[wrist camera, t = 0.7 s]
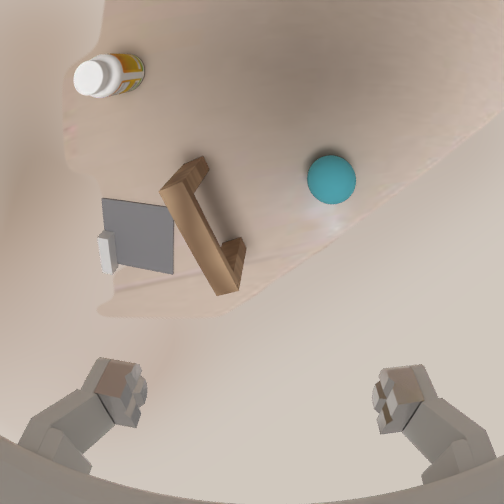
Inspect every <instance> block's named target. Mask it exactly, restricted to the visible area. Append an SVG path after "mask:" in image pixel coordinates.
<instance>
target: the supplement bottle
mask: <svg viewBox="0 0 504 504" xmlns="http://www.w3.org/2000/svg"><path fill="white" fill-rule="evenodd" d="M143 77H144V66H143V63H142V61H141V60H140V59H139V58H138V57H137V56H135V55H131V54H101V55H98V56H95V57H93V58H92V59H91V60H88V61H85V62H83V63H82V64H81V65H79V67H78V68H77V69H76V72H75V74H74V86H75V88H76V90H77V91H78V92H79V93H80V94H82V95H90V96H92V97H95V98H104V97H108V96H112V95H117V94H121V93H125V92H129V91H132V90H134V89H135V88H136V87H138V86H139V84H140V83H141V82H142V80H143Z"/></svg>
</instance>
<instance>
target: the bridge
mask: <svg viewBox="0 0 504 504" xmlns="http://www.w3.org/2000/svg"><path fill="white" fill-rule="evenodd" d="M208 171H209V167H208V165H207V163H206V161H205V159H204V157H203V156H202V157H200V158H198V159H195V160H193V161H190V162H188V163H186V164H183V166H182V167H181V168H180V169H179V170H178V171H177V172H176V173H175V174H174V175H173V176H172V177H171V178H170V180H169V181H168V182H167V183H166V184H165V185H164V186H163V187H162V188H161V189H160V191H159V193H160V195H161V197H162V199H163V201H164V203H165V205H166V206H167V208H168V210H169V212H170V214H171V216H172V218H173V219H174V221H175V223H176V225H177V227H178V229H179V230H180V232H181V234H182V236H183V238H184V239H185V241H186V243H187V245H188V247H189V248H190V250H191V252H192V254H193V256H194V257H195V259H196V261H197V263H198V264H199V266H200V268H201V270H202V271H203V273H204V275H205V277H206V278H207V280H208V282H209V283H210V285H211V287H212V289H213V290H214V292H215V294H216V295H217V296H219V295H223V294H227V293H231V292H235V291H239V286H240V281H241V275H242V269H243V264H244V258H245V253H246V247H245V245H244V242H243V240H242V238H241V237H240V238H237V239H234V240H231V241H227V242H224V243H222V246H221V247H220V245H219V243H218V241H217V239H216V237H215V235H214V234H213V232H212V230H211V228H210V226H209V224H208V222H207V220H206V218H205V216H204V214H203V212H202V210H201V208H200V206H199V204H198V202H197V200H196V198H195V196H194V192H195V191H196V189H197V188H198V186H199V184H200V183H201V181H202V180H203V178H204V177H205V175H206V174H207V172H208Z"/></svg>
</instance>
